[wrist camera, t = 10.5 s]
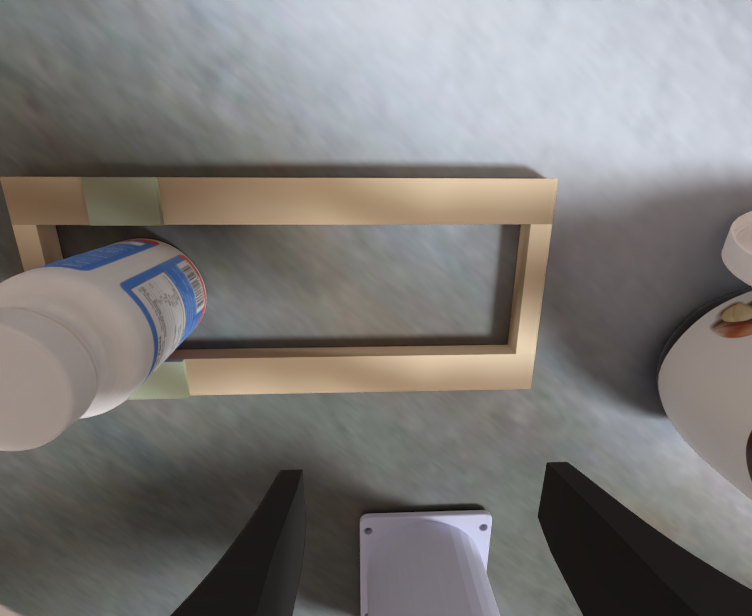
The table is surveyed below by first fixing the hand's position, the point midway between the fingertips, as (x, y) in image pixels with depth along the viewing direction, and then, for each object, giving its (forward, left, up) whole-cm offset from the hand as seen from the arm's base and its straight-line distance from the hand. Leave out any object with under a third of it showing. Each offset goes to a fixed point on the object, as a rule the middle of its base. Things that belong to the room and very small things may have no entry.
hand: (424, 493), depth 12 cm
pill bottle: (+3, +12, -11) cm, 16 cm away
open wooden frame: (+3, +5, -10) cm, 12 cm away
